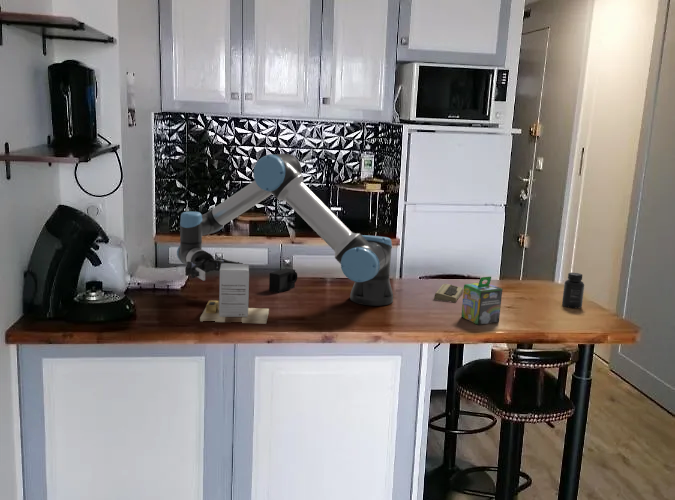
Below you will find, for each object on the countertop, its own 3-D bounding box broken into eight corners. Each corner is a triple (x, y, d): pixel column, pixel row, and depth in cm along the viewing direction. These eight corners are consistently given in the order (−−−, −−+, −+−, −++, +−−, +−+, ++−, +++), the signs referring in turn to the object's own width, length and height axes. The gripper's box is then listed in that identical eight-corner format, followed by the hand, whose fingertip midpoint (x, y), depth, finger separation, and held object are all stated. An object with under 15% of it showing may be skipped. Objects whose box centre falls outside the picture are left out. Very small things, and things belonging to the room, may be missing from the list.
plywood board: (268, 312, 210) (269, 300, 210) (266, 323, 199) (266, 311, 198) (206, 309, 209) (206, 298, 209) (200, 321, 198) (200, 309, 197)
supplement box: (220, 308, 208) (220, 262, 205) (248, 308, 209) (249, 263, 206) (218, 317, 199) (219, 269, 196) (248, 317, 200) (249, 270, 197)
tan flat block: (456, 303, 233) (456, 294, 232) (433, 300, 236) (434, 291, 235) (462, 293, 248) (463, 285, 247) (441, 290, 250) (442, 282, 250)
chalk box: (481, 314, 219) (486, 271, 217) (500, 322, 212) (504, 278, 209) (459, 317, 215) (463, 273, 212) (477, 325, 207) (482, 280, 204)
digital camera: (281, 294, 233) (281, 275, 232) (268, 291, 236) (269, 272, 234) (297, 288, 242) (298, 270, 240) (285, 285, 244) (286, 267, 243)
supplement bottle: (584, 306, 236) (588, 274, 234) (577, 310, 231) (581, 277, 229) (566, 302, 240) (570, 270, 238) (558, 305, 236) (562, 273, 233)
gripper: (233, 268, 235) (259, 282, 217) (165, 274, 221) (186, 289, 204) (233, 248, 233) (259, 260, 216) (165, 252, 220) (186, 266, 202)
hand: (224, 274), depth 210 cm, fingers open, 13 cm apart
